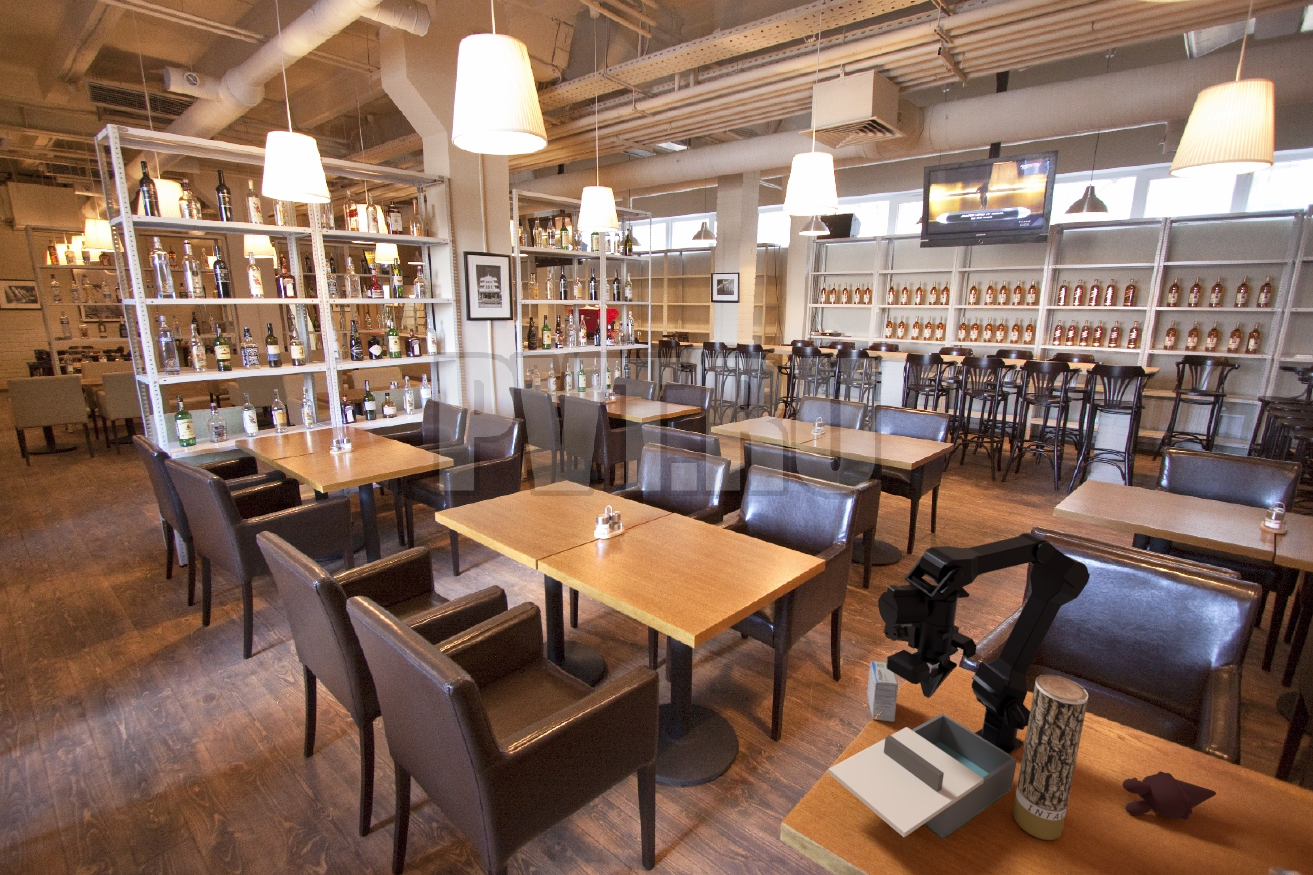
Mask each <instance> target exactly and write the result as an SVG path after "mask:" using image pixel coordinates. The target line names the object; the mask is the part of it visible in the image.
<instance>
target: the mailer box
mask: <svg viewBox="0 0 1313 875" xmlns="http://www.w3.org/2000/svg"><path fill="white" fill-rule="evenodd" d="M911 730H912V731H914V732H915V733H917V734H918V735H920V736H921V737H923V738H924V739H926V740H927V741H929V742H930V743H932V744H933V745H935V746H936V747H938V748H939V749H940V750H942V751H943V752H945V753H946V754H948V755H949V756H951V757H952V758H954V759H955V760H957V761H958V762H960V763H961V764H963V765H964V766H966V767H967V768H969V769H970V770H972V771H973V772H975V773H976V774H978V775H979V776H981V777H982V778H984V782H983V784H981V785H980V786H978V787H977V788H975V789H974V790H972V791H971V792H970V793H968V794H967V795H965V796H964V797H962V798H961V799H959V800H958V801H956V802H955V803H954V804H952V805H951V806H949V807H948V808H946V809H945V810H943V811H942V812H940V813H939V814H937V815H936V816H935V817H933V818H932V819H930V820H929V821H927V822H926V823H924V824H923V825H925V826H926V827H928V829H930V831H932V832H933V833H935V834H936V835H937V836H939V837H940V838H941V839H942V840H944V839H945V838H947V837H948V836H950V835H951V834H952V833H954V832H955V831H956V830H958V829H959V828H960V827H962V826H963V825H964V824H967V822H969V821H970V820H971V819H973V818H974V817H975V816H977V815H978V814H981V812H983V811H984V810H985V809H987V808H988V807H989V806H991V805H993V804H994V803H995V802H996V801H998V800H1000V798H1002V797H1004V795H1006V794H1007V793H1009V792H1010V791H1012V790H1013V785H1014V779H1015V773H1016V768H1017V762H1018V759H1017V758H1016V757H1014V755H1013V756H1012V754H1008V753H1006V752H1005V751H1003V750H1001V749H1000V748H998V747H996V746H995V745H993V744H992V743H990V742H988V741H987V740H985V739H983V738H982V737H980V736H979V735H977V734H975V732H974V731H973V730H971V729H969V728H968V727H966V726H964V725H962V724H960V722H957V721H956V720H954V719H953V718H951V717H949V716H948V715H946V714H945V713H940V714H938V715H936V716H934V717H932V718H931V719H929V720H927V721H925V722H923V723H921V724H920V725H918V726H915V728H912V729H911Z"/></svg>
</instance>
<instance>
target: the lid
mask: <svg viewBox="0 0 1313 875" xmlns="http://www.w3.org/2000/svg"><path fill="white" fill-rule="evenodd" d="M827 769H828V771H827V773H828V774H829V775H830V776H831V777H833V779H834V780H836V781H837V782H838V783H839V784H840V785H842V786H843V787H844V788H845V789H846V790H848V791H849V793H851V794H852V795H853V796H854V797H855V798H857V799H858V800H859V801H860V802H862V803H863V804H864V805H865V806H866V807H867V808H869V809H870V810H871V811H872V812H873V813H874V814H876V815H877V816H878V817H879V818H880V819H881V820H883V821H884V822H885V823H886V824H887V825H889V826H890V827H891V828H892V829H893V830H894V831H895V832H896V833H898V834H899V835H900V836H902V837H903V838H905V837H907V836H909V835H910V834H911V833H913V832H915V831H916V830H917V829H918V828H920V827H921V826H923V825H925V824H924V823H926V822H927V821H929V820H930V819H932V818H933V817H935V816H936V815H937V814H939V813H940V812H942V811H943V810H945V809H946V808H948V807H949V806H951V805H952V804H954V803H955V802H956V801H958V800H959V799H961V798H962V797H964V796H965V795H967V794H968V793H970V792H971V791H972V790H974V789H975V788H977V787H978V786H980V785H981V784H983V782H984V778H982V777H981V776H979V775H978V774H976V773H975V772H973V771H972V770H970V769H969V768H967V767H966V766H964V765H963V764H961V763H960V762H958V761H957V760H955V759H954V758H952V757H951V756H949V755H948V754H946V753H945V752H943V751H942V750H940V749H939V748H938V747H936V746H935V745H933V744H932V743H930V742H929V741H927V740H926V739H924V738H923V737H921V736H920V735H918V734H917V733H915V732H914V731H912V729H911V728H909V727H907V726H905V727H904V728H902V729H900V730H898V731H897V732H895V733H892V734H889V735H887V736H885V738H882V739H881V740H879V741H877V742H876V743H874V744H872V745H870V746H868V747H866V748H865V749H863V750H861V751H859V752H857V753H855V754H854V755H851V756H850V757H848V758H846V759H844V760H842V761H841V762H838V763H837V764H835V765H833V766H831V767H829V768H827Z"/></svg>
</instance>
